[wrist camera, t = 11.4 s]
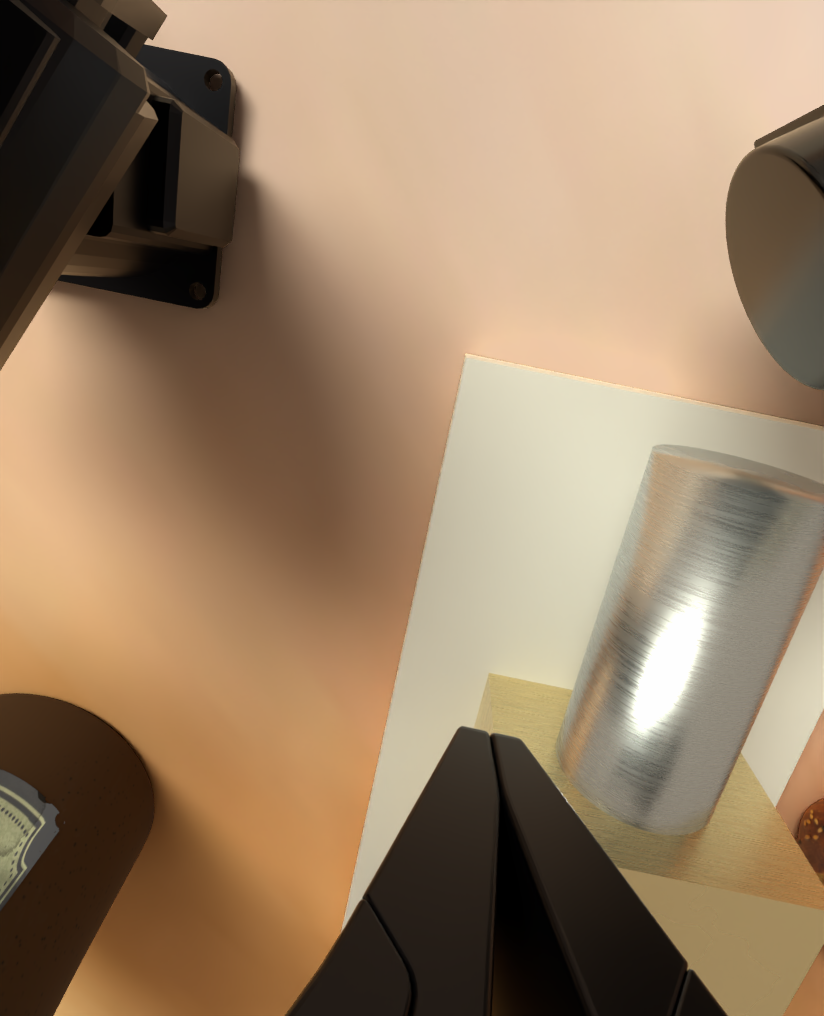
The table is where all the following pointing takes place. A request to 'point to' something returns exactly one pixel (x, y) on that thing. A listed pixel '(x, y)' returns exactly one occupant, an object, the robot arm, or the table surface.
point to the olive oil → (60, 842)
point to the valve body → (692, 718)
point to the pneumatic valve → (782, 244)
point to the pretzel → (813, 837)
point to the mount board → (556, 564)
